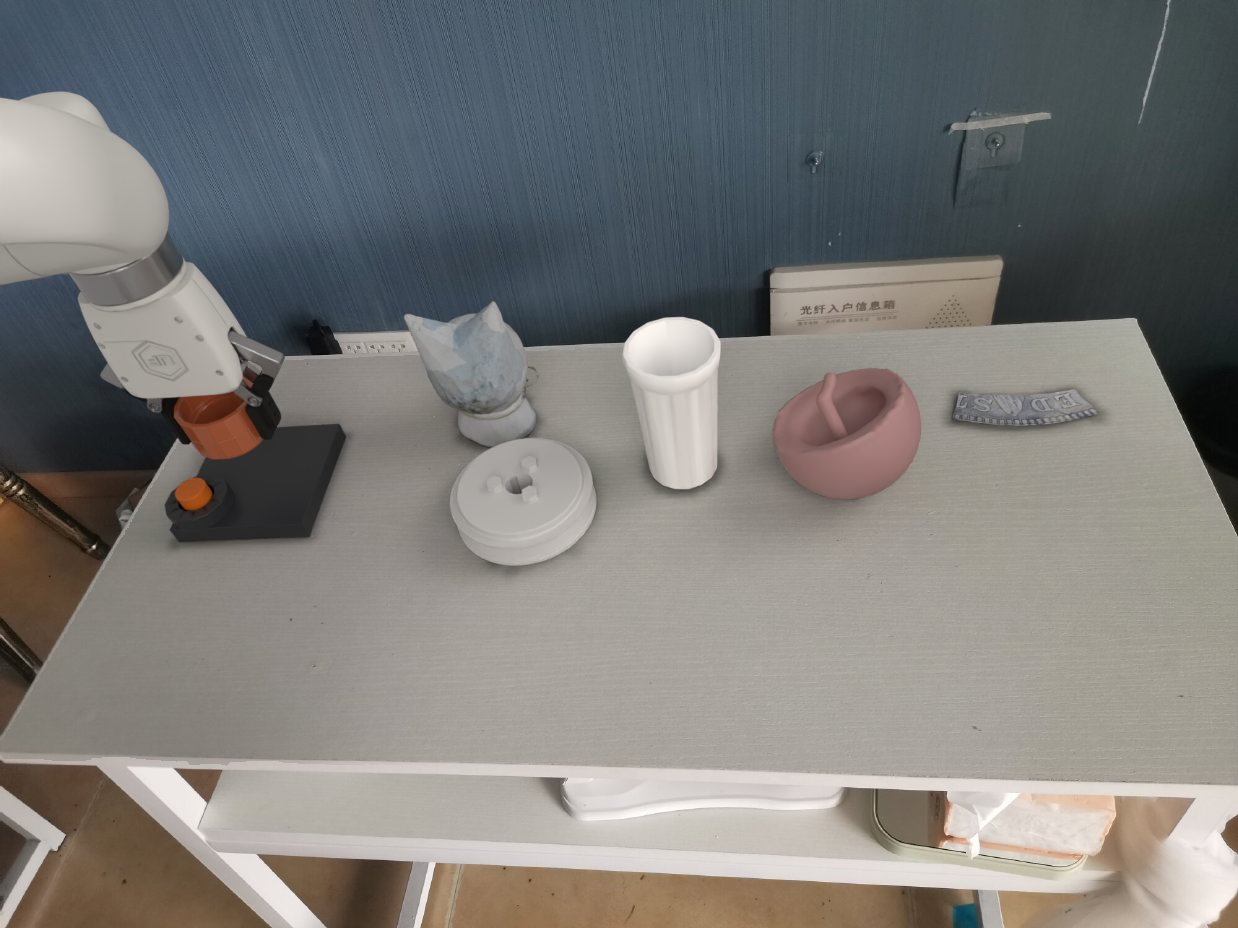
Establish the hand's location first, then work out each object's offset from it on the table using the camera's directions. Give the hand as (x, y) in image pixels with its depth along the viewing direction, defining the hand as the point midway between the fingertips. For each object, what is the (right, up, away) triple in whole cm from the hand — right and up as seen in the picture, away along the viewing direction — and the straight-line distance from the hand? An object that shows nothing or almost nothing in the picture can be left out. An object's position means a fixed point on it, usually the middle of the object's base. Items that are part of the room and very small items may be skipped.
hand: (232, 430), depth 80 cm
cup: (+41, -3, +2) cm, 41 cm away
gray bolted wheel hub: (+27, -8, 0) cm, 28 cm away
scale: (0, -5, +7) cm, 9 cm away
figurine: (+22, +2, +10) cm, 25 cm away
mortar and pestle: (+55, -4, -1) cm, 55 cm away
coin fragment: (+72, +2, +1) cm, 72 cm away
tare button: (-4, -6, +3) cm, 8 cm away
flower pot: (0, 0, +1) cm, 1 cm away
